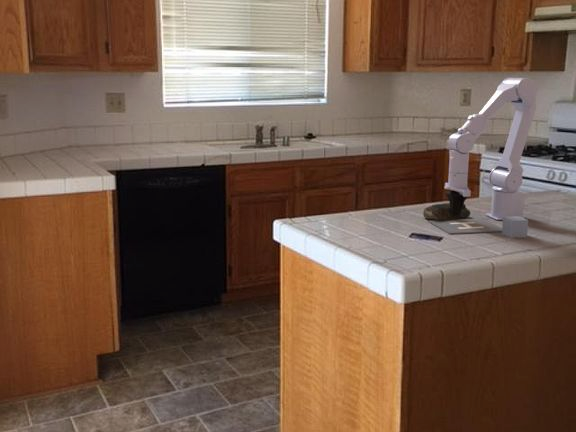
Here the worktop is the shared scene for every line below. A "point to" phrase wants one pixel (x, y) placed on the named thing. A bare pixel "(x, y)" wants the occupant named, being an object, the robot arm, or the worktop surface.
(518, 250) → the worktop surface
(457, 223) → the letter board
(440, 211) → the rock
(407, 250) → the worktop surface
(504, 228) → the gray cube
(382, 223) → the worktop surface
